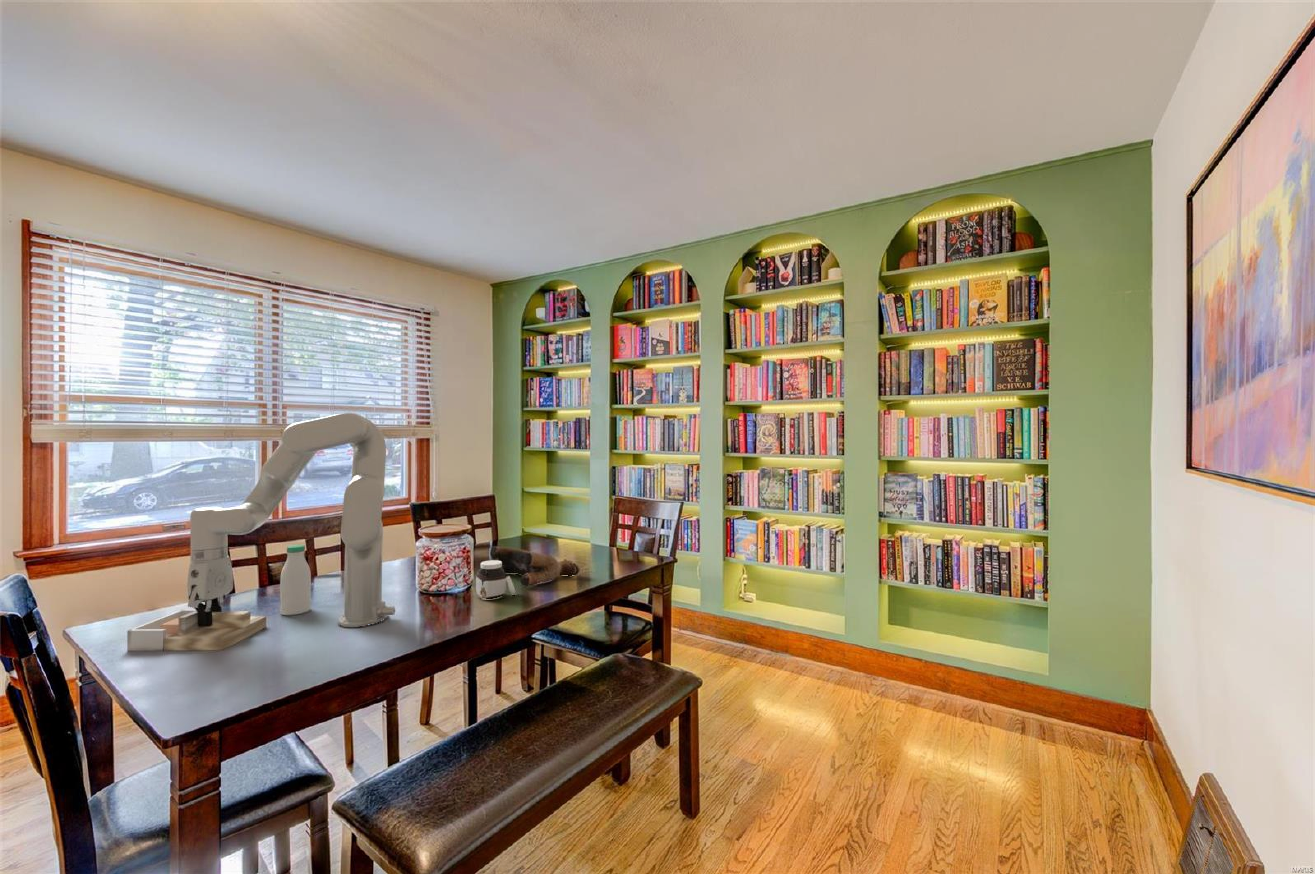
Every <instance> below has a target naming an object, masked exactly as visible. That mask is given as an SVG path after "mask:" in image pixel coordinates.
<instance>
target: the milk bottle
mask: <svg viewBox="0 0 1315 874" xmlns="http://www.w3.org/2000/svg"><path fill="white" fill-rule="evenodd" d="M305 553H306V545H305V544H294V545H293V544H291V545H289V546H286V555H287V558H286V561H285V563H284V566H283V567H282V570H281V572H280V579H279V580H280V583H279V584H280V585H279V587H280V589H279V612H280V614H281V615H282V616H294V615H296V616H297V615H301V614H305V613H307V612H309V611H310V610H311V608H312V607H311V606H312V601H311V600H312V583H311V582H312V579H311V578H312V575H311V568H310V566H309V563H308V562H307V560H306V557H305Z"/></svg>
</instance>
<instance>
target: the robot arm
mask: <svg viewBox="0 0 1315 874" xmlns="http://www.w3.org/2000/svg"><path fill="white" fill-rule="evenodd" d="M349 444H350V445H352V449H353V454H352V455H353V456H352V470H351V476H350V477H351V478H350V481H349V482H348V483H347V485H346V487H345V490H344V494H343V501H342V502H343V504H342V513H341V514H342V515H341V516H342V517H341V524H340V526H341V528H340V537H341V540H342V542H343V543H344V546H345V547H344V601H343V602H344V605H343V606H344V607H343V608H344V612H343V613H344V614H343V615H341V616H340V617H339V618H338V619H337V624H338V626H340V625H341V627H344V628H360V627H359V626H362V627H365V626H364V625H368V624H372V623H376V624H379V623H380V622H379V621H381V620H383V619H385V618H386V617H387V618H388V616H394V615H395V613H396V608H395V606H393V605H392V606H390V605H389V606H387V605H386V601H383V600H382V599H383V596H382V595H383V541H384V540H383V539H384V538H383V537H384V526H383V525H384V524H383V521H382V514H383V503H384V502H383V501H384V496H385V493H386V488H385V481H386V480H385V479H386V478H385V477H386V463H387V461H386V459H387V458H386V457H387V445H386V444H387V443H386V441H385V437H384V434H383V433H382V431H381V430H380V428H379V427H378V426H377V425H376V424H375V423H373V422H372V421H371V420H369V419H368V418H366V417H364V416H362V415H361V414H357V413H353V412H343V413H337V414H333V415H328V416H324V417H319V418H315V419H314V418H313V419H311V420H304V421H299V422H294V423H292V424H290V425H288V426H286V428H285V429H284V431H283V432H282V435H281V441H280V443H279V445H277V447H276V448H275V449H274V451H273V452H272V454H270V456H269V457H268V458H267V460H266V461H265V462H264V463H263V465H262V466H261V469H260V476H259V478H258V481H257V483H256V484H255V486H254V488H253V489H252V491H251V492H250V494H249V495H248V496H246V498H245V500H244V501H243V503H242V504H241V505H237V506H235V507H230V508H225V507H223V506H203V507H197V508H195V509H193V510H192V511H191V512H190V516H189V517H190V518H189V519H190V520H189V524H190V527H189V529H190V530H189V532H190V533H189V534H190V563H189V569H188V574H187V585H186V587H187V589H186V593H187V595H186V597H187V600H188V603H187V607H188V608H192V609H193V610H196V612H198V626H199V627H210V626H212V612H223V609H222V607H223V606H224V601H225V599H226V597H227V595H229V594H230V593H231V592H232V591H233V589H234V574H233V567H232V562H231V558H230V556H229V554H228V553H229V552H228V551H229V549H228V547H229V546H228V545H229V543H228V541H229V540H228V538H229V537H228V535H233V536H234V535H235V536H241V535H242V536H243V535H247V534H250V533H252V532H253V531H255V530H256V529H258V528H260V527H261V526H263V525H264V524H265V523H266V522H267V521H268V519H269V518H270V517H271V515H272V514H273V512H274V511H275V510H276V508H277V507H278V506H279V505H280V503H281V501H282V500H283V499H284V498H285V496H286V494H287V493H288V492H289V490H290V489H291V488H292V486H293V485H294V483H295V482H296V481H297V479H298V478H299V477H300V475H301V474H302V472H303V471H304V470H305V468H306V467H307V466H308V464H309V463H310V461H311V460H312V459H313V458H314V456H315V455H316V454H317V453H318V451H319V452H320V451H323V450H327V449H332V448H336V447H339V446H345V445H349ZM210 606H211V607H210ZM387 615H388V616H387ZM387 618H386V619H387ZM386 619H385V620H386ZM383 621H384V620H383ZM378 622H379V623H378ZM381 622H382V621H381ZM372 625H373V624H372ZM368 626H369V625H368Z"/></svg>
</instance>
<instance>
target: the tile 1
mask: <svg viewBox="0 0 1315 874" xmlns="http://www.w3.org/2000/svg"><path fill="white" fill-rule="evenodd" d="M160 629H166V635H175V634H179V618H176V619H174V620H171V621H169V622H166V623H164V624H161V625H160Z"/></svg>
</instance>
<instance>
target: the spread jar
mask: <svg viewBox="0 0 1315 874" xmlns="http://www.w3.org/2000/svg"><path fill="white" fill-rule="evenodd" d="M510 576H511V575H506V574H505V571H504V570H503V568H502V562H501V561H498V559H497V560H496V559H491V560H484V561H482V562H480V569H479V570H478V571H477V573H476V576H475V577H476V578H475V582H476V583H475V588H476V589H475V590H476V594H477V596H480V597H482V598H486V599H493V598H497V597H500V596H503V595H504V596H505V595H506V592H507V587H508V590H509V592H511V593H510V595H511V594H512V595H514V594H516V595H517V592H516V589H515V587H514V583H513V581H512V577H510ZM512 595H511V596H512ZM504 596H503V597H504Z"/></svg>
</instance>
